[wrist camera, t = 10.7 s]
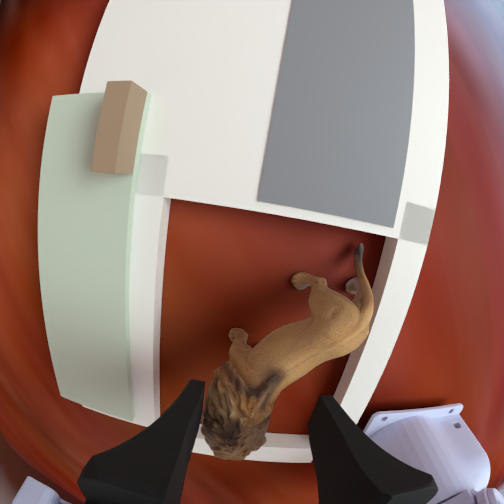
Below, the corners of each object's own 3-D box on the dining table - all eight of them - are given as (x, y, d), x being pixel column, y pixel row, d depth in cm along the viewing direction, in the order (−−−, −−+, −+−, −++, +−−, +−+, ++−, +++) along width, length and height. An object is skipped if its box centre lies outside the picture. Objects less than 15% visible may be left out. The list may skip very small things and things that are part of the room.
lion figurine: (249, 394, 18) (247, 481, 11) (196, 360, 18) (171, 447, 11) (381, 264, 16) (451, 319, 9) (330, 214, 15) (388, 246, 8)
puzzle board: (431, -5, 11) (442, -14, 10) (330, 449, 20) (334, 463, 19) (148, -53, 11) (142, -65, 9) (93, 411, 19) (86, 423, 18)
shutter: (151, 94, 12) (131, 80, 10) (134, 415, 17) (123, 441, 15) (58, 98, 12) (31, 89, 10) (64, 391, 17) (49, 412, 15)
